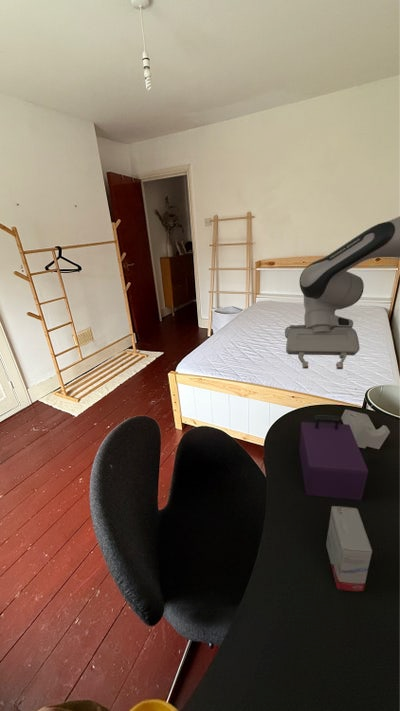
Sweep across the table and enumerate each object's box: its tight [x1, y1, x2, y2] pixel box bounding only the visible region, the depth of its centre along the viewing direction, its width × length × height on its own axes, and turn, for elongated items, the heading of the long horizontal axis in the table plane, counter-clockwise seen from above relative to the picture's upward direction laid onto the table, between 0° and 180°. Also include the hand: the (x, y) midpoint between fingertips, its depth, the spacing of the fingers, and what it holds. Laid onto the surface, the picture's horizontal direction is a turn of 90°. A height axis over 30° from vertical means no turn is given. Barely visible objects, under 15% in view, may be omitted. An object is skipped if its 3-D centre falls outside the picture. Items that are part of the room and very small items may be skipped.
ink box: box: [325, 505, 373, 592], centre depth 56 cm, size 9×5×12 cm, turn 171°
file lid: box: [300, 414, 369, 475], centre depth 74 cm, size 16×13×5 cm
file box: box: [298, 426, 368, 501], centre depth 77 cm, size 16×13×9 cm
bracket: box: [340, 409, 391, 450], centre depth 90 cm, size 13×7×8 cm, turn 171°
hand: (322, 368), depth 86 cm, fingers open, 8 cm apart
